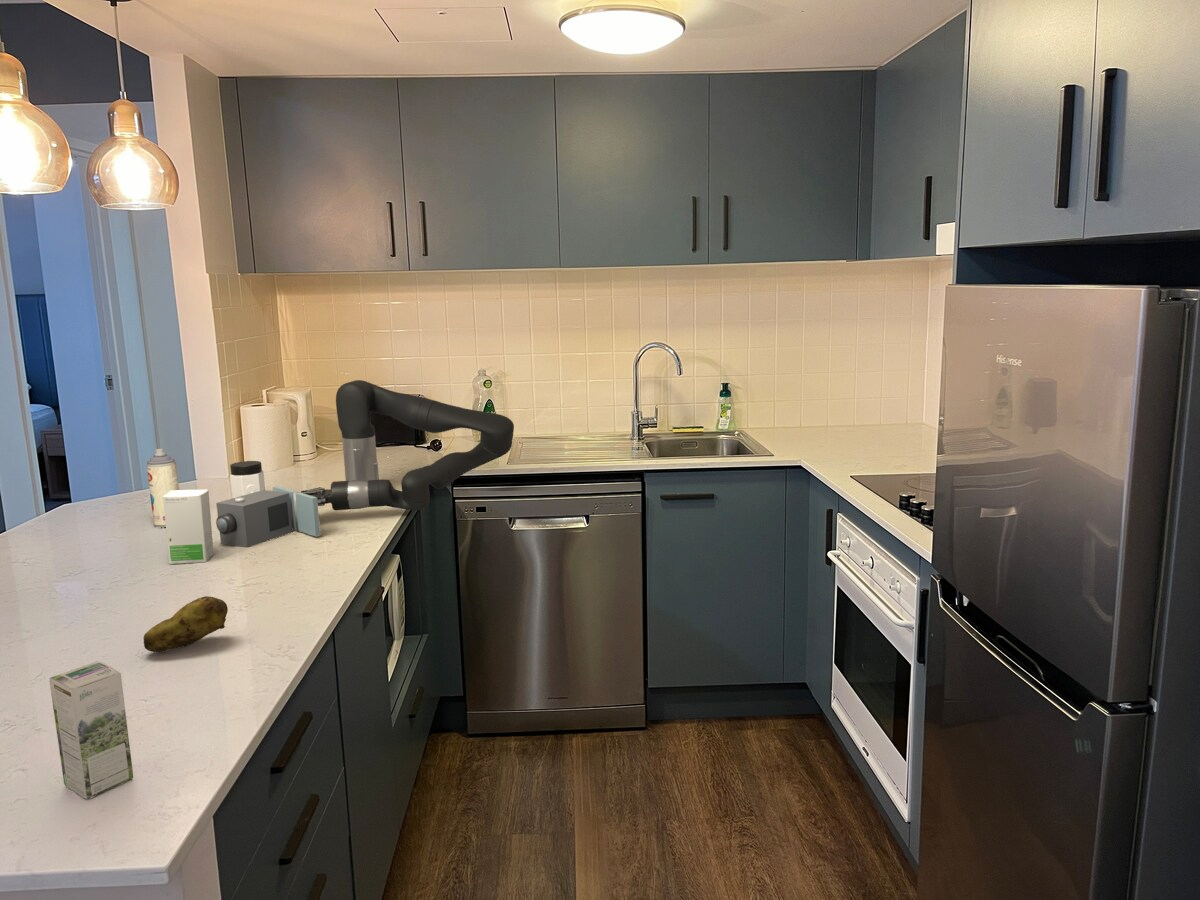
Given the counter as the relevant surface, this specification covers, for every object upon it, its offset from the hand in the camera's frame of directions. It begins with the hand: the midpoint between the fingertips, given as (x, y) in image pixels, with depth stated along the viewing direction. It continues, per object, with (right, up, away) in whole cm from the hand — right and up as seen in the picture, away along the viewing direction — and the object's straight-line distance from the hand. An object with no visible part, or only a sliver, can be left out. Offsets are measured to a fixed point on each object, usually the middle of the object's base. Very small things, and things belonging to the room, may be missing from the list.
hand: (281, 499), depth 224 cm
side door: (+7, -8, -6) cm, 12 cm away
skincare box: (-10, -12, -27) cm, 31 cm away
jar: (-17, -3, +23) cm, 29 cm away
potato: (+12, -21, -76) cm, 79 cm away
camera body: (-2, -9, -12) cm, 15 cm away
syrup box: (+20, -28, -117) cm, 122 cm away
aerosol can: (-31, -7, +4) cm, 32 cm away
